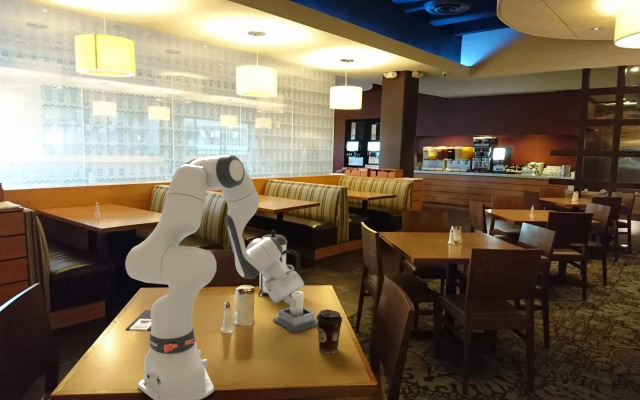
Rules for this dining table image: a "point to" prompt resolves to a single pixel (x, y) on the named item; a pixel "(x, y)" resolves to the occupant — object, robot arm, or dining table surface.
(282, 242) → the coffee press
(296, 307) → the paper roll
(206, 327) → the dining table surface
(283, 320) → the roll stand
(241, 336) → the dining table surface
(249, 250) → the robot arm
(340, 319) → the coffee cup
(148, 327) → the chocolate bar
